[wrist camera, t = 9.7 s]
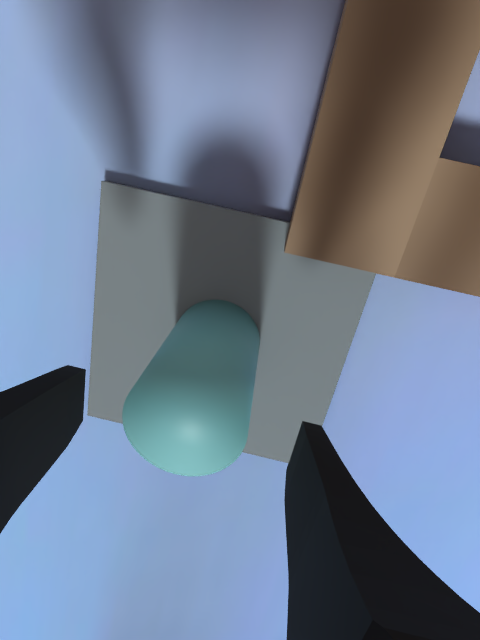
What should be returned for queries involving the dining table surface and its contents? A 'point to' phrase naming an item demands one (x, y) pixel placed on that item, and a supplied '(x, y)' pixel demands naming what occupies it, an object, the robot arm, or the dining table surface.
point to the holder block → (394, 147)
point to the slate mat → (219, 284)
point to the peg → (196, 392)
